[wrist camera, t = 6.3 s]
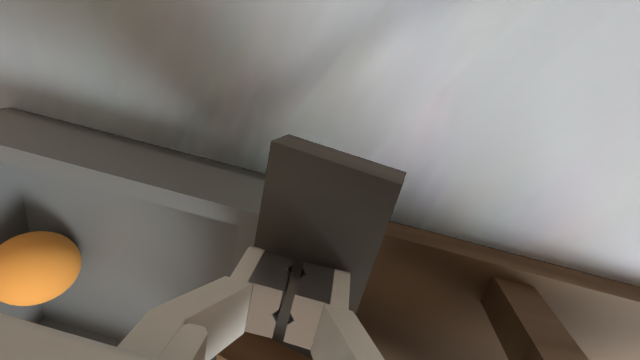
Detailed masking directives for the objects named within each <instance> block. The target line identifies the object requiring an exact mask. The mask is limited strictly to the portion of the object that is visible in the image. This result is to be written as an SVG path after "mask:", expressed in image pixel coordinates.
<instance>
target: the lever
mask: <svg viewBox="0 0 640 360" xmlns="http://www.w3.org/2000/svg"><path fill="white" fill-rule="evenodd" d="M405 175H406V172H403V171H400V170H397V169H394V168H391V167H388V166H385V165H381V164H378V163H375V162H372V161H369V160H366V159H363V158H360V157H357V156H354V155H351V154H348V153H345V152H341V151H338V150H335V149H332V148H329V147H326V146H323V145H320V144H317V143H314V142H311V141H308V140H304V139H301V138H298V137H295V136H292V135H289V134H288V135H286V136H283V137H281V138H278V139H275V140H273V141H271V146H270V152H269V159H268V165H267V171H266V177H265V183H264V189H263V195H262V201H261V207H260V213H259V219H258V225H257V231H256V237H255V243H254V247H257V248H260V249H264V250H268V251H271V252H275V253H278V254H281V255H285V256H288V257H291V258H295V260H294V265H293V269H292V272H291V275H290V278H289V279H290V282H289V286H288V290H287V294H286V297H285V301H284V304H283V307H282V309H281V311H280V315H279V319H278V322H277V325H276V328H275V331H274V334H273V337H272V338H269V337H265V336H261V335H257V334H253V333H249V332H245V331H244V334H242V335H241V336H240V337H239V338H237V339H236V340H235V341H233V342H232V343H231V344H230V345H228V346H227V347H226V348H224V349H223V350H222V351H221V352H219V353H218V354H217V356H216V360H313V358H312V355H311V352H310V351H311V350H308V349H305V348H302V347H299V346H296V345H293V344H289V343H286V342H283V341H284V337H285V332H286V328H287V324H288V320H289V317H290V312H291V308H292V304H293V300H294V296H295V293H296V289H297V285H298V282H299V278H300V276H301V272H302V268H303V265H304V262H309V263H312V264H316V265H320V266H324V267H327V268H331V269H337V270H342V271H346V272H349V273H350V292H349V310H350V311H353V312H354V313H355V315H356V312H357V309H358V306H359V304H360V301H361V298H362V295H363V293H364V290H365V287H366V284H367V281H368V279H369V276H370V273H371V270H372V268H373V265H374V262H375V259H376V257H377V254H378V251H379V248H380V245H381V243H382V240H383V237H384V234H385V232H386V229H387V226H388V223H389V221H390V218H391V215H392V212H393V209H394V207H395V204H396V201H397V198H398V196H399V193H400V190H401V187H402V185H403V181H404V178H405Z"/></svg>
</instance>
